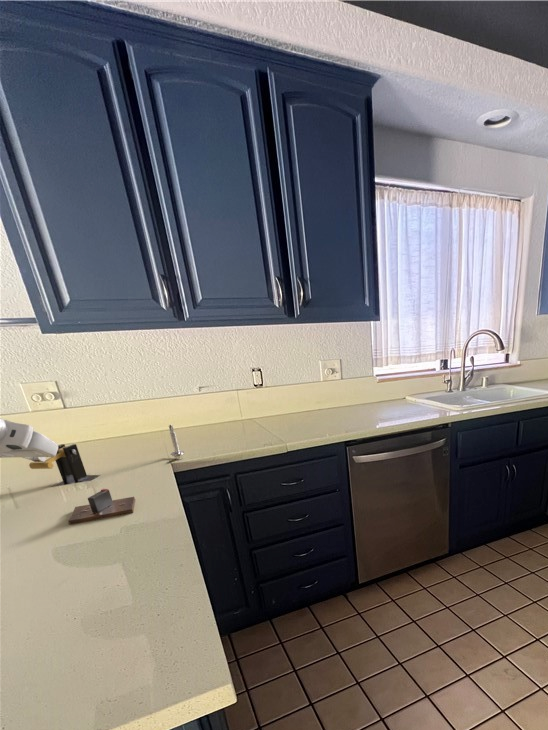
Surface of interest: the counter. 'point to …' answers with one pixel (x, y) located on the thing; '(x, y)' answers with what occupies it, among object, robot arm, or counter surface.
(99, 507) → the lock knob
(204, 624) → the counter surface
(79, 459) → the handle bracket
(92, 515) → the lock plate
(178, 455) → the screw
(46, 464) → the lever
